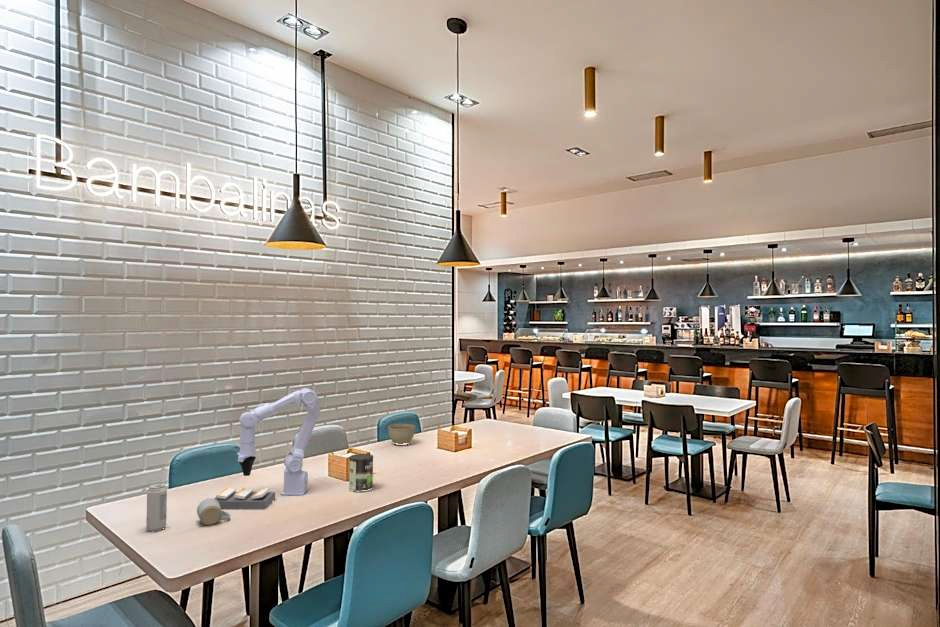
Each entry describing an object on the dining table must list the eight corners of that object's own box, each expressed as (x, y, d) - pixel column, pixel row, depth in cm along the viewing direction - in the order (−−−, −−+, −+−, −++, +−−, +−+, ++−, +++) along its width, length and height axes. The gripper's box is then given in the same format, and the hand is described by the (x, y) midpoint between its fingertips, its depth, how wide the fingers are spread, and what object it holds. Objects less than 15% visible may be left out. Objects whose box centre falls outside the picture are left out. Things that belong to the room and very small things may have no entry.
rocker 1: (235, 492, 221) (235, 489, 221) (225, 499, 212) (226, 496, 212) (225, 490, 221) (226, 487, 221) (215, 497, 212) (216, 494, 212)
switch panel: (275, 499, 223) (275, 491, 223) (264, 509, 211) (264, 501, 211) (223, 499, 222) (223, 491, 222) (209, 509, 210) (209, 501, 210)
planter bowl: (383, 446, 320) (383, 427, 320) (395, 440, 335) (395, 422, 335) (408, 448, 315) (408, 429, 315) (419, 442, 330) (419, 424, 330)
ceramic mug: (199, 528, 191) (200, 506, 191) (196, 520, 198) (197, 499, 198) (232, 522, 197) (232, 501, 197) (227, 515, 204) (228, 495, 204)
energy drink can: (151, 525, 193) (152, 483, 193) (169, 525, 193) (170, 483, 193) (142, 532, 187) (143, 488, 187) (161, 532, 187) (161, 488, 187)
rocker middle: (252, 492, 221) (253, 489, 221) (243, 499, 212) (244, 496, 212) (242, 490, 221) (243, 487, 221) (233, 497, 212) (234, 494, 212)
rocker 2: (270, 490, 221) (269, 487, 221) (262, 497, 212) (261, 494, 212) (260, 492, 221) (259, 489, 221) (252, 499, 212) (251, 496, 212)
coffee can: (377, 486, 241) (377, 454, 241) (365, 493, 231) (365, 460, 231) (356, 484, 244) (357, 452, 244) (344, 491, 234) (344, 458, 235)
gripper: (244, 438, 231) (243, 470, 231) (230, 446, 216) (229, 480, 216) (261, 438, 231) (260, 470, 231) (248, 446, 217) (247, 480, 216)
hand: (246, 475), depth 224 cm, fingers closed
